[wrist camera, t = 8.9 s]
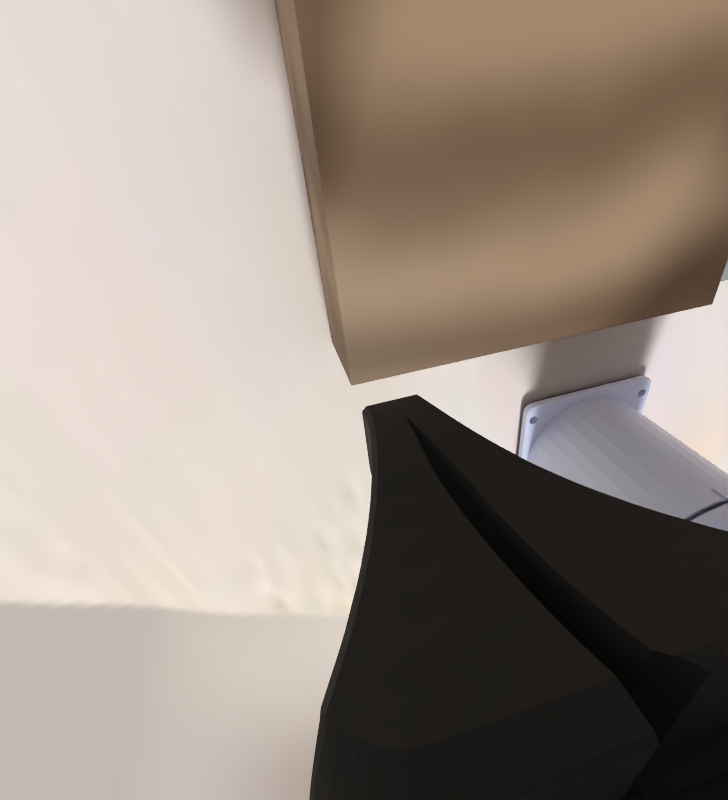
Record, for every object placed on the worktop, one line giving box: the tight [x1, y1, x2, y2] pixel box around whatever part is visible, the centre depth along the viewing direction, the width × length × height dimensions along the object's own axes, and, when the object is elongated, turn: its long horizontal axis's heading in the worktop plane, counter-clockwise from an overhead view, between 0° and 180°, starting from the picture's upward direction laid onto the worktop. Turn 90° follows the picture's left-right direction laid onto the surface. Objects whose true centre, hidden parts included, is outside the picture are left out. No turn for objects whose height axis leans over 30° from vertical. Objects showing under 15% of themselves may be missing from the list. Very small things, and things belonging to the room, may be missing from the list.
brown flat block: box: [275, 0, 728, 385], centre depth 15 cm, size 14×16×4 cm
